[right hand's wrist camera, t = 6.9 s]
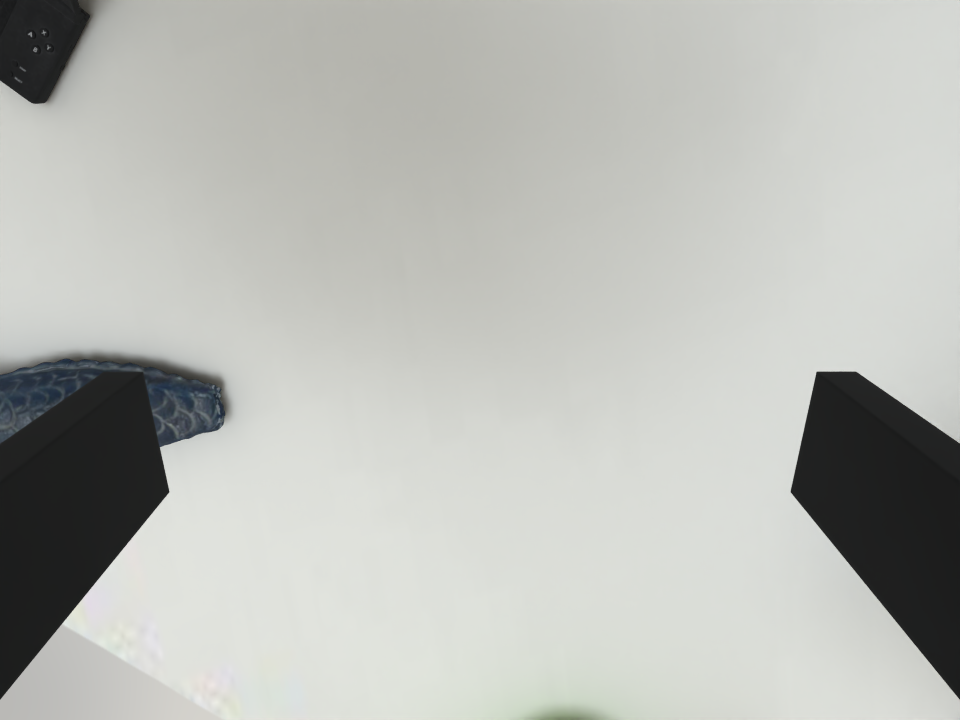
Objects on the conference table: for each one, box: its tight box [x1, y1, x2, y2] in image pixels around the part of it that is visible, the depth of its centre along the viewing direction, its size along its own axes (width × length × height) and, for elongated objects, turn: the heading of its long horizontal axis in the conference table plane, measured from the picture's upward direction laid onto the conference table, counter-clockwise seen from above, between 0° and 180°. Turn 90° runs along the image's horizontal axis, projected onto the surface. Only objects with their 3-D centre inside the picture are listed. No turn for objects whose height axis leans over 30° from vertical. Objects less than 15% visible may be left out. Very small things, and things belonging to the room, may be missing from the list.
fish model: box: [0, 359, 225, 447], centre depth 41 cm, size 7×21×5 cm, turn 92°
